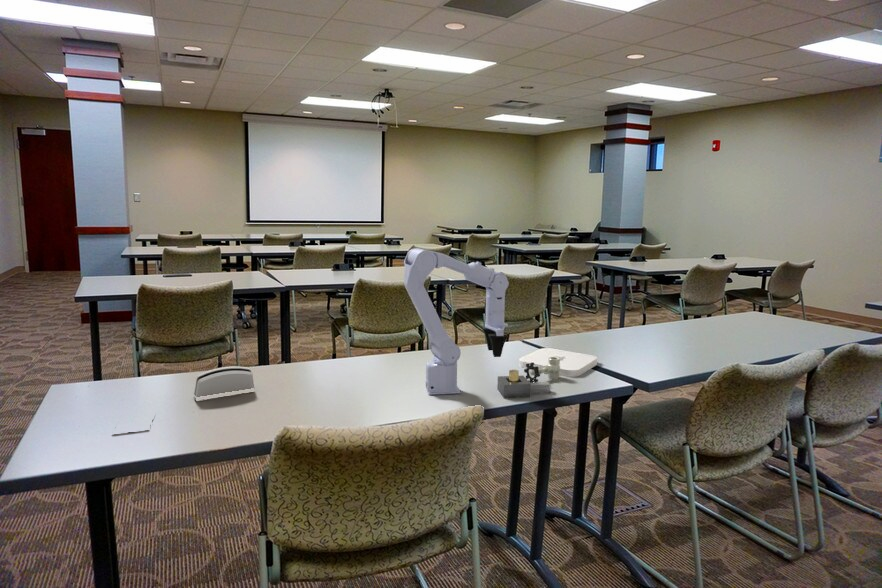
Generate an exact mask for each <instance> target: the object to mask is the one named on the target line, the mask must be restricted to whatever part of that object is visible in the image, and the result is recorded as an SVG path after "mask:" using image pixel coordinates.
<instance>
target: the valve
mask: <svg viewBox="0 0 882 588" xmlns="http://www.w3.org/2000/svg"><path fill="white" fill-rule="evenodd" d="M548 363H549V364H548V365H544V366H543V368H538V367H534V366H533V365H535V364H534V363H530V364H526V367H527V369H526V368H523V373H526V375H525V378H526V379H527V380H529V383H533V382H539V379H537V378H540V377H541V374H542V375H543V374H544V375H547V378H548V379H550V380H558V378H559V379H560V375H559V372H560V365H559V364H560V359H559V358H558V357H549V358H548ZM529 365H530V366H529ZM531 369H532V370H531Z"/></svg>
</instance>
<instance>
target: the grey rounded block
mask: <svg viewBox="0 0 882 588" xmlns="http://www.w3.org/2000/svg"><path fill="white" fill-rule="evenodd" d="M251 388H254V389H255V384H254V376H253V373H252V370H251V368H249V367H247V366H238V365H237V366H234V365H231V366H222V367H218V368H212V369H210V370H207V371H204V372H202V373H201V372H200V374H197V376H196V381H195V388H194V390H193V396H194V395H195V396H196V397H200V396H207V395H213V394H219V393H225V392H232V391H239V390H245V389H251Z"/></svg>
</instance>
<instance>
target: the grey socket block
mask: <svg viewBox="0 0 882 588" xmlns="http://www.w3.org/2000/svg"><path fill="white" fill-rule="evenodd" d="M496 386H497V389H496V390H497V391H498V392H499V394H500V395H501V396H502V398H503V399H514V398H516V397H519V398H530V397H531V395H532V394H534V395H535V394H551V386H552V385H551V383H550V382H549V381H540V382H539V381H538V382H534V383H530V380H529V379H526V376H524V375H519V378H518V382H510V383H509V375H506V376H505V375H501V376H497V385H496ZM516 399H517V398H516Z"/></svg>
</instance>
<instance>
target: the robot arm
mask: <svg viewBox="0 0 882 588" xmlns="http://www.w3.org/2000/svg"><path fill="white" fill-rule="evenodd" d="M403 265H404V274H403V275H404V276H403V285H404V288H405V289H406V291H407V294H408V296H409V298H410V299H411V302H412V304H413V306H414V309H415V310H416V312H417V314H418V316H419V318H420V320H421V323H422V324H423V326H424V328H425V330H426V332H427V334H428V341H429V344H430V352H431V354H432V355H433V359H432V360H433V361H428V362H426V363H425V388H426V391H427V394H428V395H429V396H430V395H451V394H452V395H454V394H461V391H460V389H459V387H458V361H459V359H460V357H461V348H460V347H459V345H458V344H456V343H455V342H454V340H453V339H452V337H451V336H450V335H449V334H448V332H447V331H446V329H445V327H444V325H443V322H442V320H441V318H440V317H439V315H438V312H437V310H436V308H435V306H434V305H433V302H432V299H431V297H430V296H429V294H428V292H427V289H426V288H425V285H424V284H425V282H426V280H427V278H428V276H429V275H430V274H431V273H432V272H433V271H434V269H440V268H443V267H444V268H445V269H449V270H452V271H454V272H458V273H460V274H462V275H463V276H464V279H465V280H466V281H469V282H470V283H474V284H477V285H478V286H481V287H485V289H486V290H485V291H486V292H485V324H484V327H482V331H483V334H484V336H485V341H486V346H487V351H492V355H493V358H500V357H502V354H503V349H504V345H505V343H506V341H507V340H508V338H509V336H508V334H504V331H505V328H508V327H509V324H508V323H505V308H506V307H505V305H506V304H505V303H506V302H505V300H506V290H507V289H508V287H509V283H510V282H509V280H508V277H507V275H506V274H505V273H502V272H499V271H495V268H493V267H486V266H484V265H482V262H479V261H476V262H474V261H472V262H470V263H465V262H463V261H461V260H459V259H456V258H454V257H452V256H449V255H447V254H446V253H445V254H444V253H442V252H436V251H433V250H428V249H423V248H420V247H412V248H411V249H410V250H409V251H408V252H407V254H406V256H405V258H404V261H403Z"/></svg>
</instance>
